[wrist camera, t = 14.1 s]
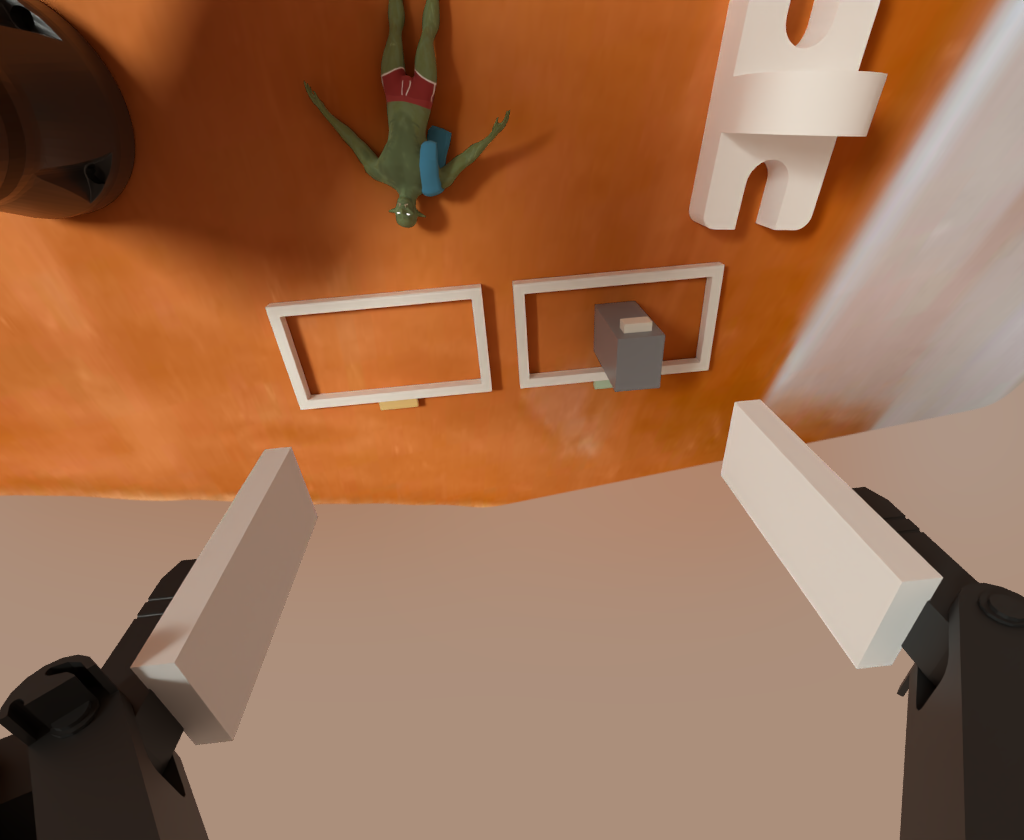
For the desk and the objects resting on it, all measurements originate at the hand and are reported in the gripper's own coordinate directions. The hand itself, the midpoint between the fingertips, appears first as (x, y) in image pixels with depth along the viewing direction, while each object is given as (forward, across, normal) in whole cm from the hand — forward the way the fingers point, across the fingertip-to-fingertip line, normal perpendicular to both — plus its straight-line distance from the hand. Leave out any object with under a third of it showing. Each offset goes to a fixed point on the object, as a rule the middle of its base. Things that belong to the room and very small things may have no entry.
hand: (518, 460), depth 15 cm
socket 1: (+34, -11, -10) cm, 38 cm away
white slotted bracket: (+35, +24, +8) cm, 43 cm away
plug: (+34, +12, -10) cm, 38 cm away
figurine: (+35, -5, +10) cm, 37 cm away
